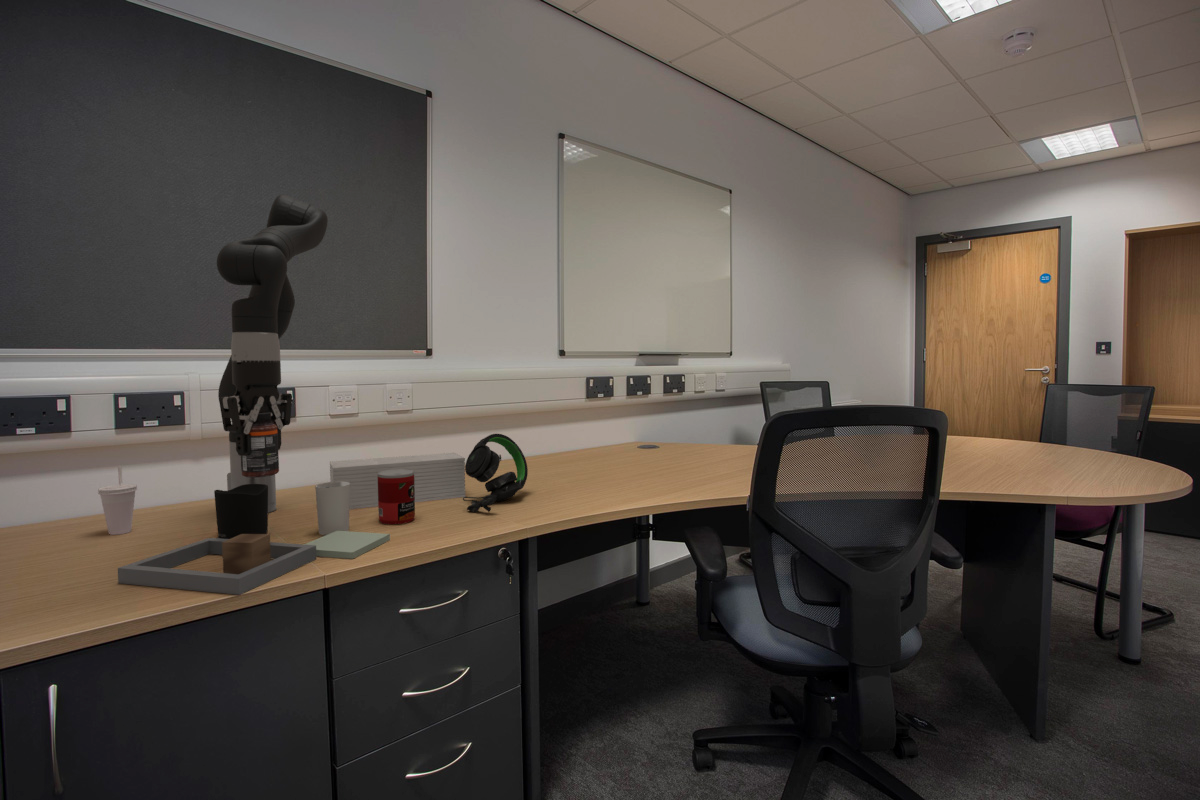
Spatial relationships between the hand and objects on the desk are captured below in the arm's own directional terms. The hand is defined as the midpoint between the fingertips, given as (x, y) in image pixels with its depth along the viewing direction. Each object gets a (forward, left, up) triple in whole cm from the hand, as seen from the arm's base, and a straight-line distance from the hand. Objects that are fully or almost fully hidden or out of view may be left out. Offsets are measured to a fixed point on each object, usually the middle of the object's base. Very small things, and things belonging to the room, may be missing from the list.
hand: (259, 452), depth 106 cm
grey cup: (+1, +18, -20) cm, 27 cm away
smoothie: (-43, +8, -20) cm, 48 cm away
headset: (+25, +51, -20) cm, 60 cm away
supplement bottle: (0, 0, -4) cm, 4 cm away
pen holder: (-15, +11, -20) cm, 27 cm away
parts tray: (-2, -7, -19) cm, 21 cm away
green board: (+10, +9, -19) cm, 24 cm away
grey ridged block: (-2, +48, -20) cm, 52 cm away
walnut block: (+3, -7, -20) cm, 21 cm away
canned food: (+9, +29, -20) cm, 36 cm away
